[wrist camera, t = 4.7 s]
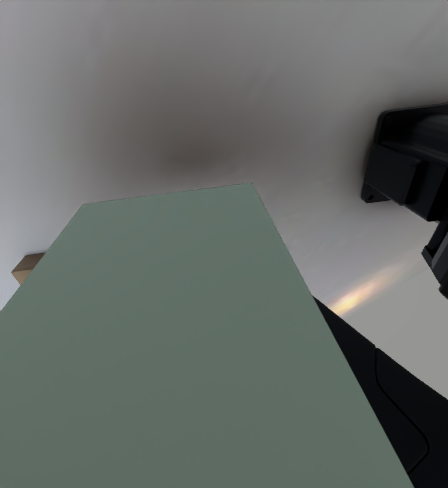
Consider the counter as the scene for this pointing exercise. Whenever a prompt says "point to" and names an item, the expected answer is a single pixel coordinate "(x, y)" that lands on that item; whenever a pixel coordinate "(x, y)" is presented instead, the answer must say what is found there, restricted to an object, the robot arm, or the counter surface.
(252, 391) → the sage block
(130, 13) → the counter surface
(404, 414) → the robot arm
